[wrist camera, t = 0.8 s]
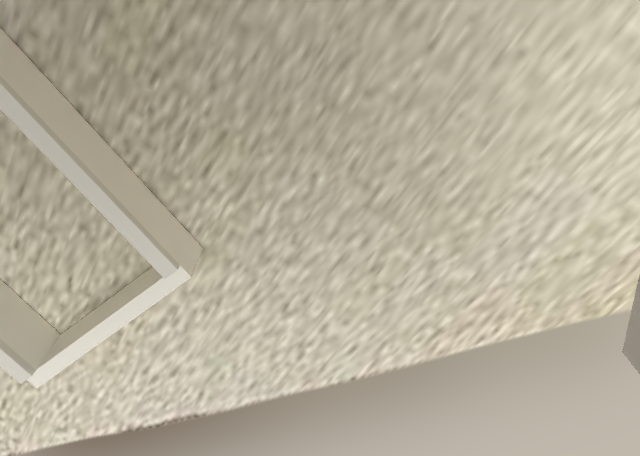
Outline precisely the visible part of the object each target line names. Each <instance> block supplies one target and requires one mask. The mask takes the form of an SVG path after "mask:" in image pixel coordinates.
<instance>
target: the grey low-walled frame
mask: <svg viewBox="0 0 640 456" xmlns="http://www.w3.org/2000/svg"><path fill="white" fill-rule="evenodd" d="M0 110H1V111H2V112H3V113H4V114H5V115H6V116H7V117H8V118H9V119H10V120H11V121H12V122H13V123H14V124H15V125H16V126H17V127H18V128H19V129H20V130H21V131H22V132H23V133H24V134H25V135H26V137H27V138H28V139H29V140H30V141H31V142H32V143H33V144H34V145H35V146H36V147H37V148H38V149H39V150H40V151H41V152H42V153H43V154H44V155H45V156H46V157H47V158H48V159H49V160H50V161H51V162H52V163H53V164H54V165H55V166H56V168H57V169H58V170H59V171H60V172H61V173H62V174H63V175H64V176H65V177H66V178H67V179H68V180H69V181H70V182H71V183H72V184H73V185H74V186H75V187H76V188H77V189H78V190H79V191H80V192H81V193H82V194H83V195H84V196H85V197H86V199H87V200H88V201H89V202H90V203H91V204H92V205H93V206H94V207H95V208H96V209H97V210H98V211H99V212H100V213H101V214H102V215H103V216H104V217H105V218H106V219H107V220H108V221H109V222H110V223H111V224H112V225H113V226H114V227H115V228H116V230H117V231H118V232H119V233H120V234H121V235H122V236H123V237H124V238H125V239H126V240H127V241H128V242H129V243H130V244H131V245H132V246H133V247H134V248H135V249H136V250H137V251H138V252H139V253H140V254H141V255H142V256H143V257H144V258H145V259H146V261H147V262H148V263H149V264H150V265H151V266H152V267H151V268H150V269H149V270H147V271H146V272H145V273H143V274H142V275H141V276H139V277H138V278H136V279H135V280H134V281H132V282H131V283H130V284H128V285H127V286H126V287H124V288H123V289H122V290H120V291H119V292H117V293H116V294H115V295H113V296H112V297H111V298H109V299H108V300H107V301H105V302H104V303H103V304H101V305H100V306H99V307H97V308H96V309H94V310H93V311H92V312H90V313H89V314H88V315H86V316H85V317H84V318H82V319H81V320H80V321H78V322H77V323H76V324H74V325H73V326H71V327H70V328H69V329H67V330H66V331H65V332H63V333H62V334H61V335H60V334H59V333H58V332H57V331H56V330H55V329H54V328H53V327H52V326H51V325H50V324H49V323H47V322H46V321H45V320H44V319H43V318H42V317H41V316H40V315H39V314H38V313H37V312H35V311H34V310H33V309H32V308H31V307H30V306H29V305H28V304H27V303H26V302H25V301H23V300H22V299H21V298H20V297H19V296H18V295H17V294H16V293H15V292H14V291H13V290H12V289H10V288H9V287H8V286H7V285H6V284H5V283H4V282H3V281H2V280H1V279H0V367H1V368H2V369H4V370H5V371H6V372H7V373H8V374H9V375H10V376H12V377H13V378H14V379H15V380H16V381H17V382H19V383H20V384H22V383H23V382H24V381H26V380H28V381H29V382H30V383H31V384H32V385H33V386H34V387H36V388H38V387H40V386H41V385H43V384H44V383H45V382H47V381H48V380H49V379H51V378H52V377H54V376H55V375H56V374H58V373H59V372H61V371H62V370H63V369H65V368H66V367H68V366H69V365H70V364H72V363H73V362H75V361H76V360H77V359H79V358H80V357H81V356H83V355H84V354H86V353H87V352H88V351H90V350H91V349H93V348H94V347H95V346H97V345H98V344H100V343H101V342H102V341H104V340H105V339H107V338H108V337H109V336H111V335H112V334H113V333H115V332H116V331H118V330H119V329H120V328H122V327H123V326H125V325H126V324H127V323H129V322H130V321H132V320H133V319H134V318H136V317H137V316H139V315H140V314H141V313H143V312H144V311H145V310H147V309H148V308H150V307H151V306H152V305H154V304H155V303H157V302H158V301H159V300H161V299H162V298H164V297H165V296H166V295H168V294H169V293H171V292H172V291H173V290H175V289H176V288H177V287H179V286H180V285H182V284H183V283H184V282H186V281H187V280H189V279H190V278H191V277H192V275H193V273H194V270H195V268H196V265H197V263H198V260H199V257H200V255H201V252H202V250H203V248H202V246H201V245H200V244H199V243H198V242H197V241H196V240H195V239H194V238H193V237H192V236H191V235H190V233H189V232H188V231H187V230H186V229H185V228H184V227H183V226H182V225H181V224H180V223H179V221H178V220H177V219H176V218H175V217H174V216H173V215H172V214H171V213H170V212H169V211H168V209H167V208H166V207H165V206H164V205H163V204H162V203H161V202H160V201H159V200H158V199H157V198H156V196H155V195H154V194H153V193H152V192H151V191H150V190H149V189H148V188H147V187H146V186H145V184H144V183H143V182H142V181H141V180H140V179H139V178H138V177H137V176H136V175H135V174H134V172H133V171H132V170H131V169H130V168H129V167H128V166H127V165H126V164H125V163H124V162H123V161H122V159H121V158H120V157H119V156H118V155H117V154H116V153H115V152H114V151H113V150H112V149H111V147H110V146H109V145H108V144H107V143H106V142H105V141H104V140H103V139H102V138H101V137H100V135H99V134H98V133H97V132H96V131H95V130H94V129H93V128H92V127H91V126H90V125H89V124H88V122H87V121H86V120H85V119H84V118H83V117H82V116H81V115H80V114H79V113H78V112H77V110H76V109H75V108H74V107H73V106H72V105H71V104H70V103H69V102H68V101H67V100H66V98H65V97H64V96H63V95H62V94H61V93H60V92H59V91H58V90H57V89H56V88H55V87H54V85H53V84H52V83H51V82H50V81H49V80H48V79H47V78H46V77H45V76H44V75H43V73H42V72H41V71H40V70H39V69H38V68H37V67H36V66H35V65H34V64H33V63H32V62H31V60H30V59H29V58H28V57H27V56H26V55H25V54H24V53H23V52H22V51H21V50H20V48H19V47H18V46H17V45H16V44H15V43H14V42H13V41H12V40H11V39H10V38H9V36H8V35H7V34H6V33H5V32H4V31H3V30H2V29H1V28H0Z"/></svg>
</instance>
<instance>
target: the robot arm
mask: <svg viewBox="0 0 640 456" xmlns="http://www.w3.org/2000/svg"><path fill="white" fill-rule="evenodd" d="M622 352H623V353H624V355H625V356H626V357H627V358H628V360H629V361H630V362H631V364H632V365H633V366H634V367H635V369H636V370H637V371H638V372H639V374H640V276H639V280H638V284H637V289H636V293H635V298H634V302H633V307H632V311H631V315H630V320H629V324H628V329H627V333H626V338H625V342H624V346H623V351H622Z"/></svg>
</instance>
